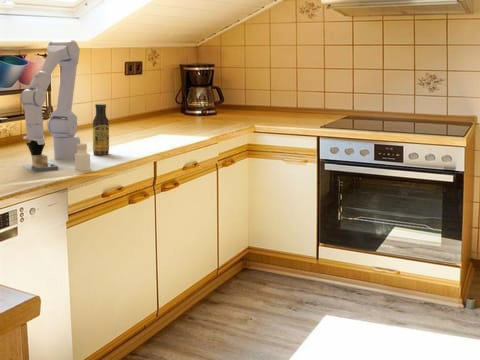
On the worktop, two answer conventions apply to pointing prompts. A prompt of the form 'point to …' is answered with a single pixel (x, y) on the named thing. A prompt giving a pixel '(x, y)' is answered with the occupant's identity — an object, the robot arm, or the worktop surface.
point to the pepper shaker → (82, 158)
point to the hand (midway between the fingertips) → (36, 162)
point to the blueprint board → (44, 169)
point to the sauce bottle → (100, 131)
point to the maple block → (39, 161)
